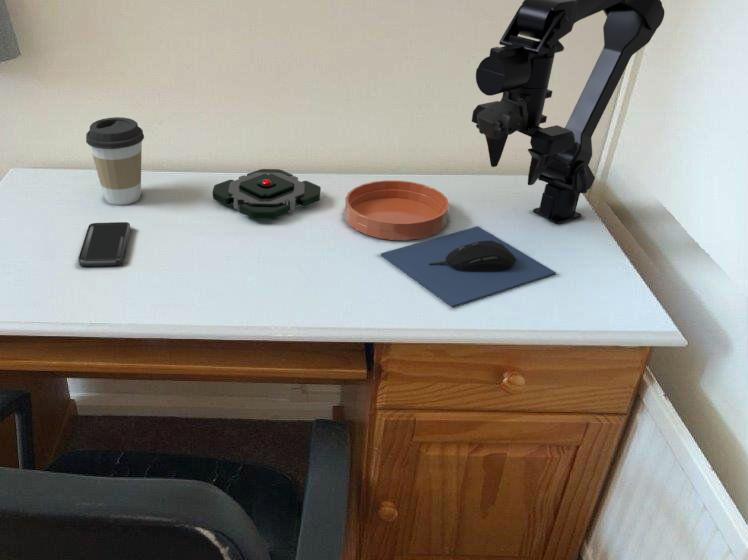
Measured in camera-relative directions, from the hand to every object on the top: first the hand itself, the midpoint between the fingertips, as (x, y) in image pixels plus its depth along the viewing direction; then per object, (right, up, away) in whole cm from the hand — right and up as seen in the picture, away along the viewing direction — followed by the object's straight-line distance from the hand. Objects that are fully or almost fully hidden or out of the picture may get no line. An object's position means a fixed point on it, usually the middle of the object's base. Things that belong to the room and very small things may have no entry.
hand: (511, 175), depth 135 cm
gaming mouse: (-7, -16, -1) cm, 17 cm away
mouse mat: (-8, -16, 0) cm, 18 cm away
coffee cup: (-72, +2, +24) cm, 76 cm away
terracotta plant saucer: (-18, -4, +14) cm, 23 cm away
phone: (-72, -11, +7) cm, 73 cm away
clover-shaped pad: (-43, 0, +21) cm, 48 cm away
